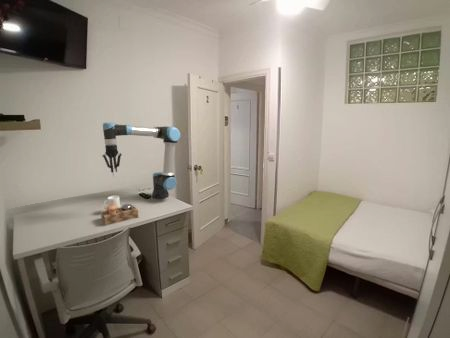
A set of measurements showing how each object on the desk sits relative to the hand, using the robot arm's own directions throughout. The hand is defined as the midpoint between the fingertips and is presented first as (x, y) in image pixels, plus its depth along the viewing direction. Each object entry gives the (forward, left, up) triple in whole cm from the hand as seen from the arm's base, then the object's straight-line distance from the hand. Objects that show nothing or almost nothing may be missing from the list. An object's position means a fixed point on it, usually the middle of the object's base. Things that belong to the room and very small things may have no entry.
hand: (114, 176), depth 170 cm
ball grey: (-4, +11, -28) cm, 31 cm away
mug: (+3, -4, -29) cm, 30 cm away
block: (+1, +11, -29) cm, 31 cm away
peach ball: (+6, +11, -27) cm, 30 cm away
